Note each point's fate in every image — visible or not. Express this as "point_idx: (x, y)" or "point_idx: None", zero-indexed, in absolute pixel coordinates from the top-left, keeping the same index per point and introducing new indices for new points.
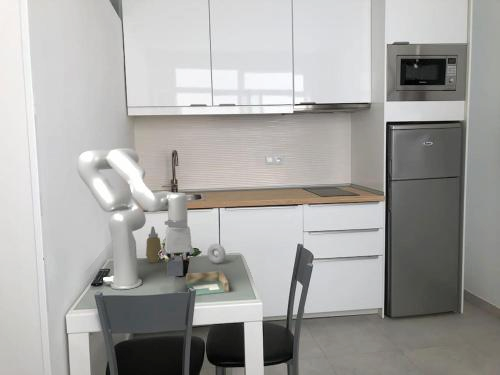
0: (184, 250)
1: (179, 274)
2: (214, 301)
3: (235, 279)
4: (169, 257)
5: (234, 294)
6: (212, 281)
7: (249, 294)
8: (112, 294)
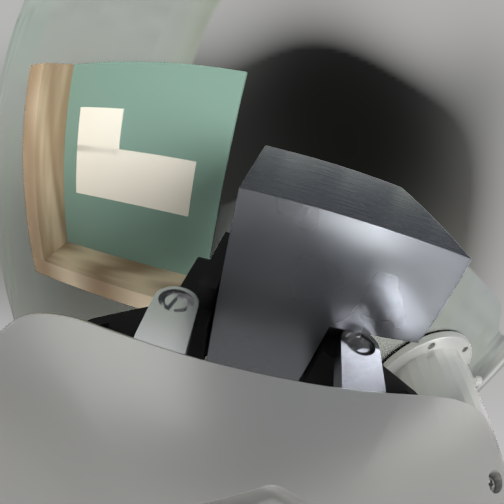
0: (116, 369)
1: (298, 155)
2: None
3: (21, 227)
4: (383, 372)
5: (57, 35)
6: (90, 240)
7: (23, 29)
8: (498, 302)
